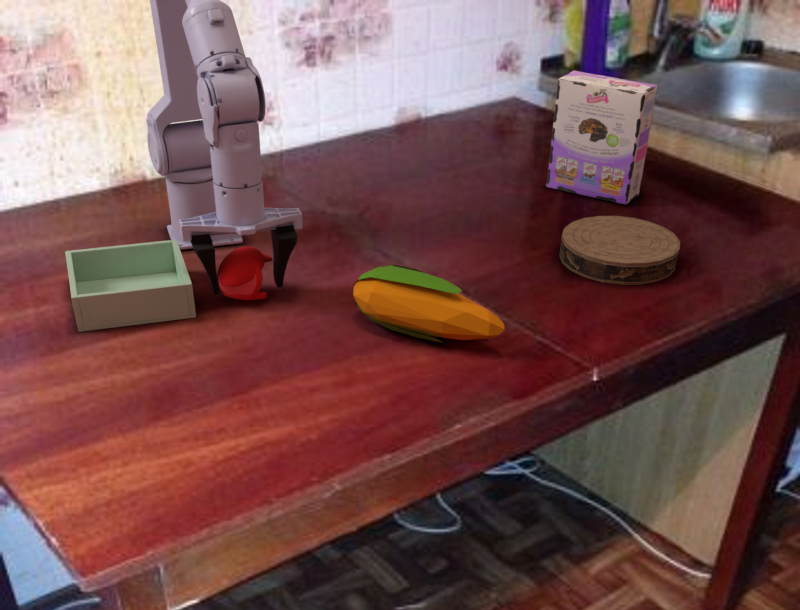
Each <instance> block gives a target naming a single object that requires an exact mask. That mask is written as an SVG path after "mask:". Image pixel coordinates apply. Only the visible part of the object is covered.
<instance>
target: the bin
mask: <svg viewBox="0 0 800 610" xmlns="http://www.w3.org/2000/svg"><path fill="white" fill-rule="evenodd" d="M64 254H65V262H66V268H67V275H68V281H69V282H68V283H69V289H70V297H71V302H72V308H73V312H74V317H75V321H76V322H75V323H76V326H77V331H78V333H82V332H90V331H99V330H105V329H114V328H121V327H122V328H123V327H129V326H130V327H131V326H138V325H146V324H147V325H148V324H154V323H161V322H170V321H179V320H187V319H193V318H194V319H195V318H197V311H196V303H195V295H194V289H193V282H192V279H191V277H190V274H189V270H188V268H187V266H186V263H185V262H186V261H185V260H184V257H183V254H182V250H180V248H179V245H178V242H177V240H171V239H168V240H159V241H148V242H140V243H130V244H120V245H112V246H111V245H110V246H102V247H101V246H100V247H91V248H82V249H71V250H65V251H64Z"/></svg>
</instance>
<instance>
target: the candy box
mask: <svg viewBox="0 0 800 610" xmlns="http://www.w3.org/2000/svg"><path fill="white" fill-rule="evenodd" d="M556 85H557V86H556V87H557V88H556V96H555V97H556V98H555V107H554V115H553V122H552V132H551V142H550V150H549V151H550V152H549V162H548V168H547V169H548V170H547V177H546V184H545V187H546V188H550V189H554V190H558V191H563V192H567V193H571V194H577V195H580V196H585V197H589V198H595V199H598V200H602V201H607V202H612V203H616V204H620V205H621V204H622V205H625V206H626V205H628V204H629V203H630V202H632V200H634V199H635V198H637V197H639V195H640V191H641V184H642V180H643V173H644V168H645V162H646V156H647V151H648V145H649V139H650V133H651V127H652V123H653V122H652V121H653V116H654V109H655V104H656V98H657V93H658V84H654V83H648V82H643V81H642V82H641V81H635V80H630V79H624V78H618V77H613V76H608V75H607V76H606V75H602V74H596V73H589V72H585V71H578V70H572V71H569V72H568V73H566V74H564V75H563V76H561V77H559V78H558V79H557V84H556Z"/></svg>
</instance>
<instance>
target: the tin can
mask: <svg viewBox="0 0 800 610" xmlns="http://www.w3.org/2000/svg"><path fill="white" fill-rule="evenodd" d="M560 239H561V240H560V246H559V255H558V257H559V258H560V261H561V263H562V265H564V266H565V267H566V268H567V269H568V270H570V271H571V272H573V273H575V274H577V275H579V276H581V277H583V278H585V279H589V280H592V281H596V282H600V283H603V284H613V285H619V286H632V285H633V286H641V285H647V284H652V283H657V282H660V281H662V280H665V279H667V278H669V277H670V276H672V274H673V273H674V272H675V271H676V268H677V262H678V258H679V253H680V250H681V249H680V248H681V241H680V240H679V238H678V236H677V235H676V234H675V233H674V232H672V231H671V230H669V229H668V228H666V227H665V226H662V225H659V224H657V223H654V222H652V221H649V220H645V219H641V218H637V217H632V216H631V217H630V216H622V215H596V216H589V217H588V216H587V217H583V218H580V219H577V220H573V221H572V222H570V223H568V224H567V225H566V226H565V227H564V228H563V230H562V233H561V238H560Z"/></svg>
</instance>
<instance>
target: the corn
mask: <svg viewBox="0 0 800 610" xmlns="http://www.w3.org/2000/svg"><path fill="white" fill-rule="evenodd" d="M462 291H463V289H462V288H460V287H458V286H457V285H456V284H454V283H452V282H450V281H448V280H446V279H444V278H441V277H439V276H435V275H432V274H430V273H426V272H423V271H421V270H419V269H417V268H413V267H408V266H404V265H403V266H402V265H398V264H389V265H381V266H378V267H375V268H373V269H370V270H369V271H366V272H364V273H362V274H360V276H359V277H358V279H357V280H356V281H355V282H354V284H353V292H352V297H353V301H354V305H355V306H356V307H357V309H359V311H360V313H362V314H363V315H364V316H365V317H367V318H368V319H369V320H370V321H371V322H373V323H375V324H378V325H380V326H382V327H384V328H387V329H388V330H390V331H394V332H397V333H400V334H405V335H408V336H410V337H415V338H418V339H423V340H427V341H431V342H436V343H437V342H438V343H442V344H444V342H443V341H442V340H440V339H438V338H445V339H451V340H459V341H468V340H470V341H473V340H485V339H488V340H489V339H495V338H496V337H499V336H500V335H501V334H503V332H504V331H505V323H504V322H503V321H502V320H501V318H500V317H499V316H498V315H496V314H495V313H493V312H492V311H490V310H489V309H487V308H485V307H484V306H482V305H480V304H479V303H477V302H475V301H473V300H471V299H470V298H468V297H467V296H465V295H463V294H460V293H461V292H462ZM437 337H438V338H437Z"/></svg>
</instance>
